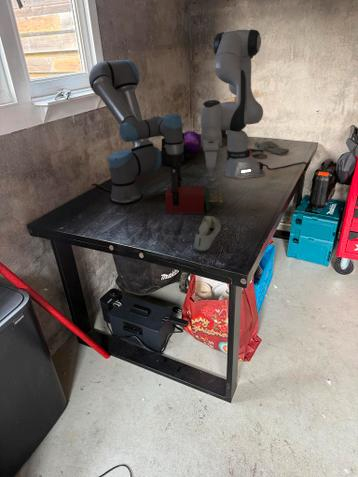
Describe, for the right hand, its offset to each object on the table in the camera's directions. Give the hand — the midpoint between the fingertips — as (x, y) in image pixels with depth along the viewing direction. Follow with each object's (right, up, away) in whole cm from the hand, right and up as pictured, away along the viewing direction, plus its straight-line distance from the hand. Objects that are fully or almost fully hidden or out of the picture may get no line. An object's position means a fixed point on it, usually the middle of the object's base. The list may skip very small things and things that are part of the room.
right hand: (211, 172), depth 148 cm
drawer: (-6, -15, +5) cm, 16 cm away
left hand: (-15, -12, +4) cm, 20 cm away
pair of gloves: (+41, +29, +77) cm, 92 cm away
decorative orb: (-6, +31, +86) cm, 91 cm away
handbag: (-17, +21, +69) cm, 74 cm away
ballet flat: (-3, -29, -19) cm, 35 cm away
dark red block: (-11, -15, +6) cm, 20 cm away
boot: (+19, +43, +103) cm, 113 cm away
